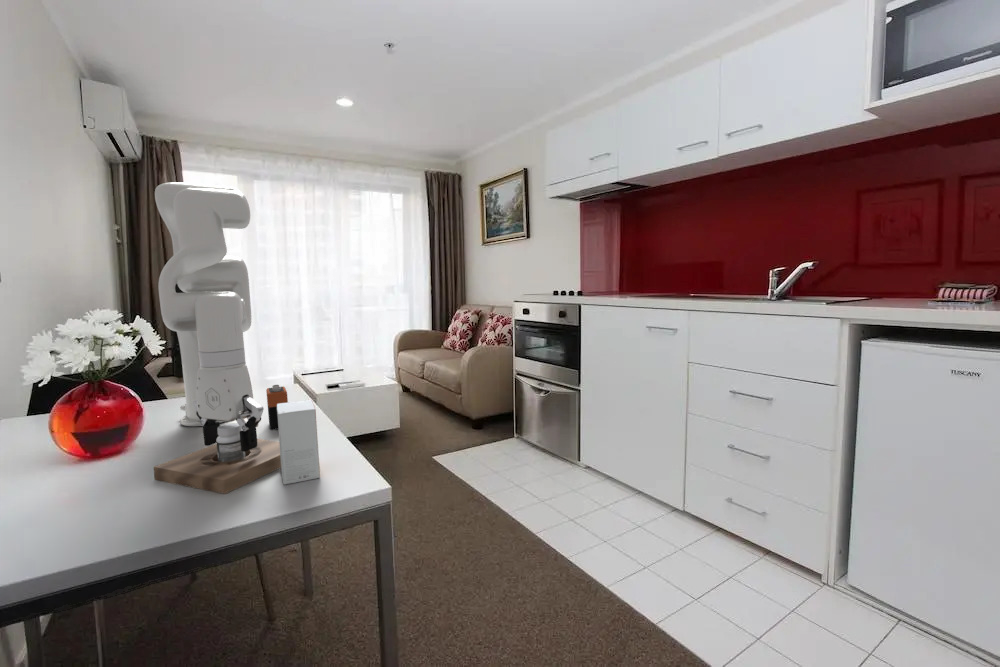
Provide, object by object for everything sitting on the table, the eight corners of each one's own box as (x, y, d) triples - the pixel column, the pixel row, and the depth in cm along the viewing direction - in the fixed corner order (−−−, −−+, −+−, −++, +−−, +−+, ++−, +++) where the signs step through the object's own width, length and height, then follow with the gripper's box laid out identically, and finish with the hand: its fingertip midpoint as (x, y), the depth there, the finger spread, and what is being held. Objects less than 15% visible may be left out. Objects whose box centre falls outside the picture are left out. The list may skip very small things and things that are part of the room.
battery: (270, 430, 118) (267, 390, 117) (269, 423, 124) (265, 384, 123) (290, 427, 120) (286, 387, 119) (287, 420, 126) (284, 382, 125)
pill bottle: (225, 463, 97) (222, 422, 96) (250, 462, 98) (247, 421, 97) (214, 473, 93) (210, 430, 92) (240, 471, 93) (236, 429, 92)
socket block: (154, 479, 90) (153, 466, 90) (239, 447, 107) (238, 436, 106) (225, 494, 83) (223, 480, 83) (303, 456, 100) (302, 445, 100)
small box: (320, 478, 89) (316, 408, 87) (282, 485, 86) (277, 413, 85) (316, 463, 96) (311, 398, 95) (281, 469, 94) (275, 403, 92)
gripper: (172, 360, 92) (181, 448, 94) (239, 364, 86) (247, 458, 88) (208, 354, 99) (216, 435, 101) (273, 357, 93) (280, 444, 95)
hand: (231, 446), depth 94 cm, fingers open, 9 cm apart
